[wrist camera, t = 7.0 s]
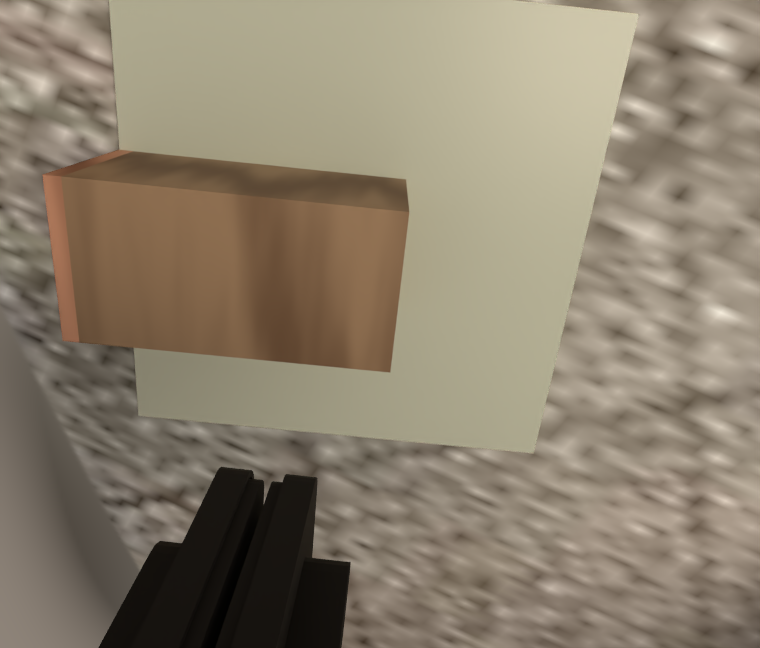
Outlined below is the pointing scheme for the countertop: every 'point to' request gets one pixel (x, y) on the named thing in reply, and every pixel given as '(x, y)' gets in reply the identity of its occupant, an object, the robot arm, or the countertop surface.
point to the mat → (403, 161)
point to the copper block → (228, 258)
